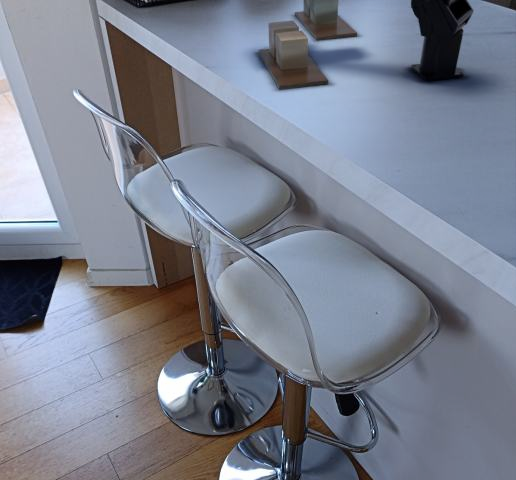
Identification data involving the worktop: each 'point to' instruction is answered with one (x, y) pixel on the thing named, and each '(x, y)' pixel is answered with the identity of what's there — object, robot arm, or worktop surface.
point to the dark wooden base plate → (324, 20)
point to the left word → (290, 57)
